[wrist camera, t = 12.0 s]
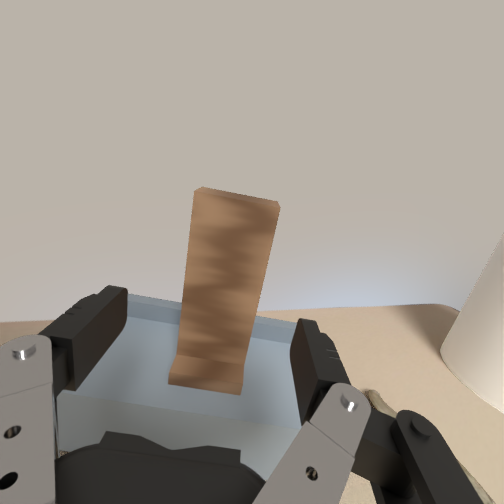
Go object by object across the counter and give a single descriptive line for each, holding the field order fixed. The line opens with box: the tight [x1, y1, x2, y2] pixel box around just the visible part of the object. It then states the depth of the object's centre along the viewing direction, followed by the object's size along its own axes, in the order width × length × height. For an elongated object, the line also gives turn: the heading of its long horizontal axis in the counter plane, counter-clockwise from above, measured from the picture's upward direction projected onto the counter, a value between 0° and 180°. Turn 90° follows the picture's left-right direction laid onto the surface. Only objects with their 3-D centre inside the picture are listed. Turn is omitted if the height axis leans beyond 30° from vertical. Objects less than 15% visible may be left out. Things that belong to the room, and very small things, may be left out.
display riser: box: [57, 294, 302, 480], centre depth 23 cm, size 20×10×8 cm, turn 89°
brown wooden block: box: [168, 187, 280, 395], centre depth 20 cm, size 6×6×14 cm
